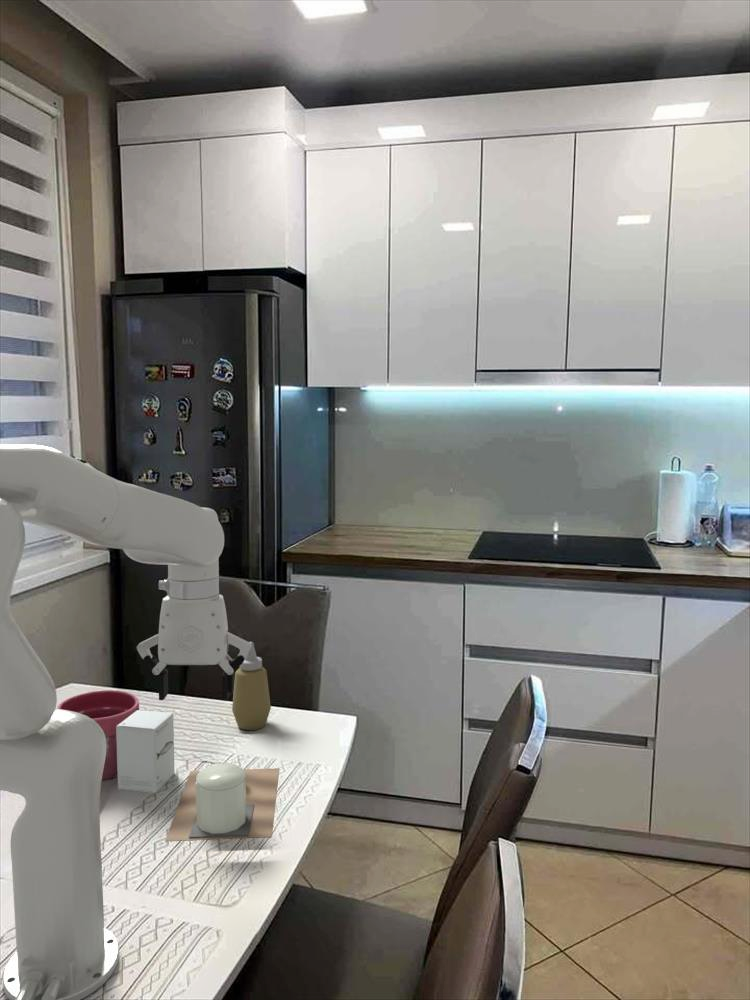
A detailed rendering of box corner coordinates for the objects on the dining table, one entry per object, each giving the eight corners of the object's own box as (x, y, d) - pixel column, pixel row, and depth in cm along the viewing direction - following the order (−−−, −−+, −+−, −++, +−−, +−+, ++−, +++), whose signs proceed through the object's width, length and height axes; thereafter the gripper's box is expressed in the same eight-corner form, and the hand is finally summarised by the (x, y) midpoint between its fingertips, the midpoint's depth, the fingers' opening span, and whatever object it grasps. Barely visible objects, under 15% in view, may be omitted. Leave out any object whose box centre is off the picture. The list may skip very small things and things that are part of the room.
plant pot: (156, 759, 140) (154, 694, 139) (106, 795, 127) (103, 724, 125) (95, 747, 145) (93, 685, 143) (41, 780, 132) (37, 712, 130)
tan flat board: (271, 844, 113) (271, 835, 112) (165, 848, 111) (164, 839, 111) (279, 774, 134) (279, 767, 134) (190, 777, 133) (190, 770, 133)
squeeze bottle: (225, 730, 153) (223, 646, 151) (243, 715, 161) (241, 635, 159) (260, 735, 151) (259, 650, 149) (277, 720, 158) (276, 638, 156)
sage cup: (243, 832, 113) (242, 786, 112) (193, 834, 113) (192, 787, 112) (247, 806, 121) (247, 763, 120) (201, 808, 120) (200, 764, 119)
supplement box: (156, 800, 125) (154, 729, 124) (116, 795, 127) (114, 725, 125) (176, 779, 133) (174, 712, 131) (138, 775, 134) (136, 708, 133)
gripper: (129, 593, 108) (131, 706, 110) (247, 593, 109) (248, 705, 111) (143, 583, 116) (145, 688, 117) (253, 583, 116) (254, 688, 118)
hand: (195, 697), depth 114 cm, fingers open, 9 cm apart
